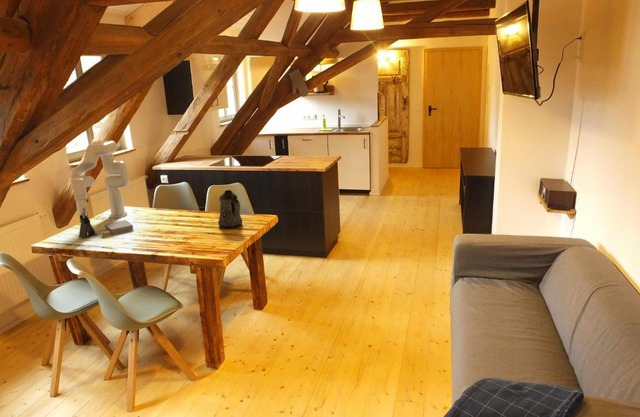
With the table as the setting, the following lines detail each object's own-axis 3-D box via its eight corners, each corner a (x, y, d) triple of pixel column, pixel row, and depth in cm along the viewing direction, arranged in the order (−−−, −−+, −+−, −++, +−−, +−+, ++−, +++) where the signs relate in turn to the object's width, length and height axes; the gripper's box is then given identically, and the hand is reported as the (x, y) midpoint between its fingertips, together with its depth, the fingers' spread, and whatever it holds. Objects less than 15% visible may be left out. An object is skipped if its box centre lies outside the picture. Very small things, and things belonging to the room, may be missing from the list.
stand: (105, 229, 324) (104, 224, 323) (126, 225, 332) (125, 219, 331) (112, 235, 312) (111, 229, 311) (133, 230, 320) (132, 224, 319)
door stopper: (84, 239, 306) (81, 221, 303) (78, 237, 309) (75, 220, 305) (96, 234, 313) (93, 217, 310) (90, 233, 316) (87, 216, 313)
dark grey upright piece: (226, 221, 334) (223, 187, 327) (250, 223, 327) (248, 188, 321) (213, 228, 319) (210, 193, 312) (239, 230, 312) (236, 194, 306)
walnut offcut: (102, 235, 312) (101, 231, 311) (108, 234, 314) (108, 230, 313) (104, 237, 308) (104, 233, 307) (111, 236, 310) (110, 232, 309)
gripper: (71, 195, 308) (75, 220, 312) (77, 200, 295) (81, 226, 299) (83, 193, 312) (87, 218, 317) (90, 198, 299) (94, 223, 303)
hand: (84, 222), depth 308 cm, fingers open, 9 cm apart
